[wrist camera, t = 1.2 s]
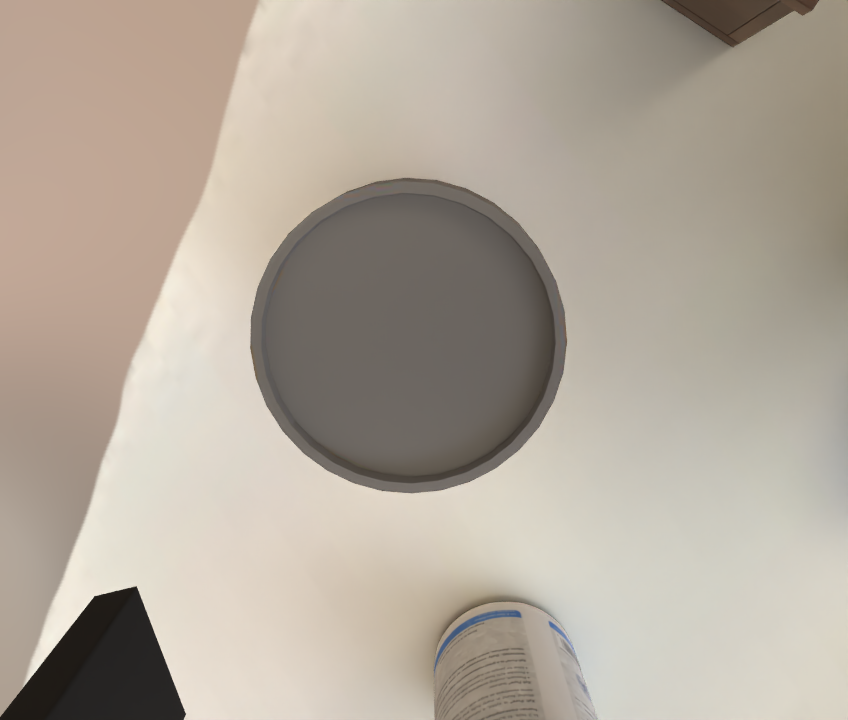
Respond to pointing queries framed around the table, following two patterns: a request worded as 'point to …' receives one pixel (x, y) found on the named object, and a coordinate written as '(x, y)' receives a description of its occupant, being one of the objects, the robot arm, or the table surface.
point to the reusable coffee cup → (408, 336)
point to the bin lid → (801, 5)
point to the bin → (732, 16)
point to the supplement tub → (508, 668)
